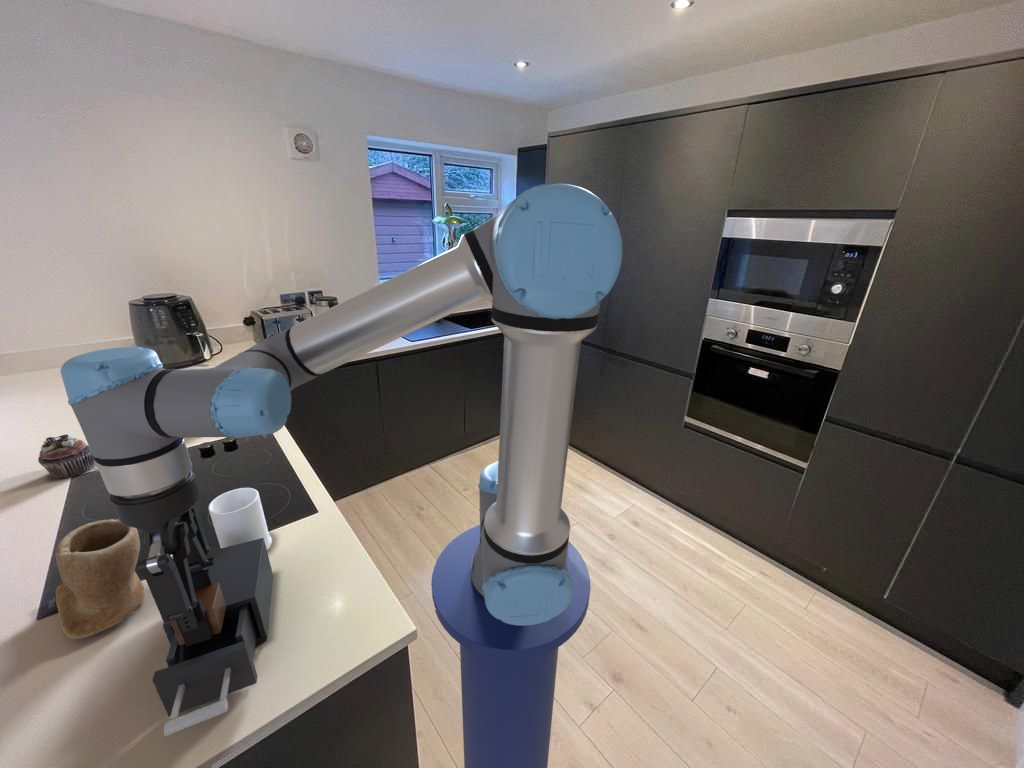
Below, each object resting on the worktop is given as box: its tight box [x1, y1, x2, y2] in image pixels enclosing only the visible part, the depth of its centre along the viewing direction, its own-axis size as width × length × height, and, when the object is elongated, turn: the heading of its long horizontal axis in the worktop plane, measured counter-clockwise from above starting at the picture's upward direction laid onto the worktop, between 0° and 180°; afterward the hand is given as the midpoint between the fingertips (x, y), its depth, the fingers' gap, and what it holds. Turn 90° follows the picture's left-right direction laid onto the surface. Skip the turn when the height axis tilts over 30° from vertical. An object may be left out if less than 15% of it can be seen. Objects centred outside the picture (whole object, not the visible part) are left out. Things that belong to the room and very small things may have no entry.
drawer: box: [151, 603, 258, 737], centre depth 56 cm, size 18×10×7 cm, turn 26°
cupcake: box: [37, 434, 96, 480], centre depth 103 cm, size 10×10×10 cm
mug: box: [208, 487, 273, 551], centre depth 80 cm, size 12×8×12 cm
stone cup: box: [55, 518, 145, 640], centre depth 66 cm, size 15×12×15 cm
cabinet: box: [162, 538, 274, 646], centre depth 65 cm, size 14×11×9 cm
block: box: [171, 583, 226, 645], centre depth 54 cm, size 4×4×4 cm
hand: (203, 623), depth 55 cm, fingers closed on block, 4 cm apart
